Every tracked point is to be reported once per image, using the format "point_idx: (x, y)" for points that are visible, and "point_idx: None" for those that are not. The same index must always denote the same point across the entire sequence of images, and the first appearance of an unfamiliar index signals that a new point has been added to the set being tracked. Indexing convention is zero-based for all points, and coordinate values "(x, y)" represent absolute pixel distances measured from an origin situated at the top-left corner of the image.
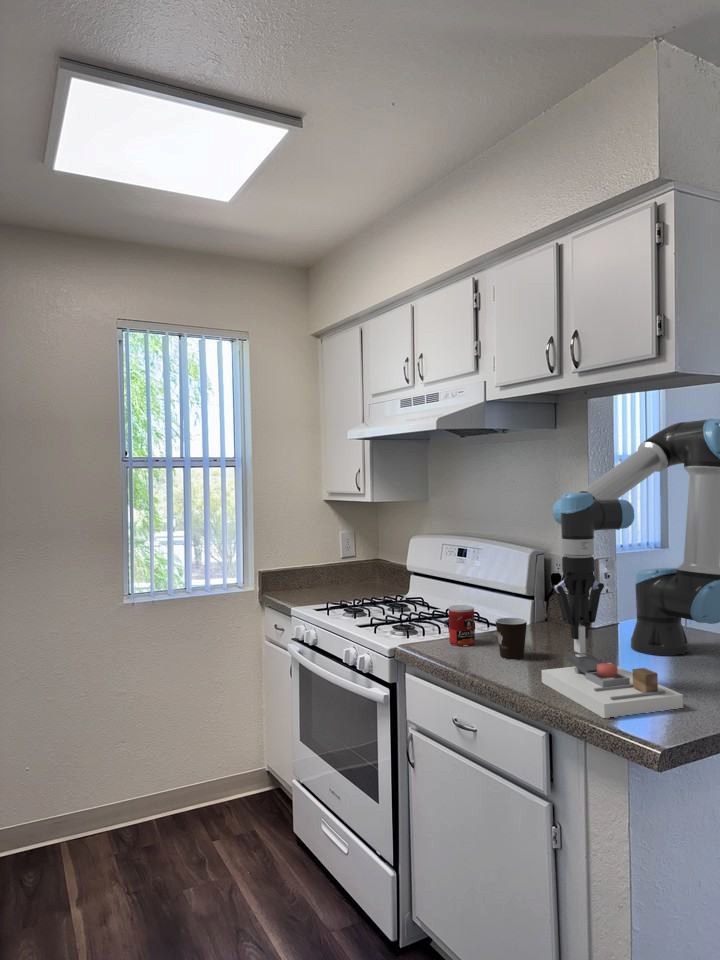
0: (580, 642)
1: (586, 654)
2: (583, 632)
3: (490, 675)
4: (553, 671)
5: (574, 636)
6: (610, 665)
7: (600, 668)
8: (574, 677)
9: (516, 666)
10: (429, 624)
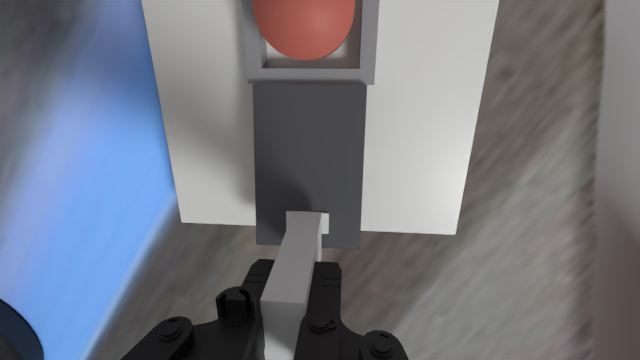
0: (313, 240)
1: (276, 227)
2: (283, 273)
3: (539, 315)
4: (427, 205)
5: (339, 273)
6: (282, 6)
7: None
8: (403, 113)
9: (413, 351)
10: None
